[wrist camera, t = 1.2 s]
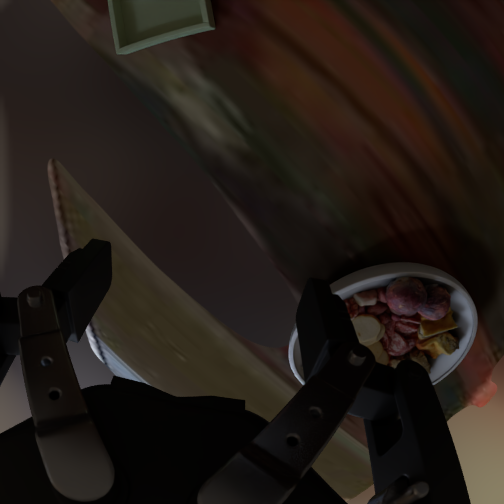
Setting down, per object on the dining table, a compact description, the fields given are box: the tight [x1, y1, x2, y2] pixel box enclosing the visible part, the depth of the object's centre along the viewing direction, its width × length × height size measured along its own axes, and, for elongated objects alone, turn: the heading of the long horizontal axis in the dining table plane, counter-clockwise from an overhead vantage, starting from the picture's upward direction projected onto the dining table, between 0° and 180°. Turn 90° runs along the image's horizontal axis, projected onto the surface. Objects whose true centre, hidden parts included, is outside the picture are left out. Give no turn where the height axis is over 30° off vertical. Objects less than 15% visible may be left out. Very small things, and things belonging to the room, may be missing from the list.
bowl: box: [289, 262, 478, 385], centre depth 44 cm, size 30×30×8 cm
